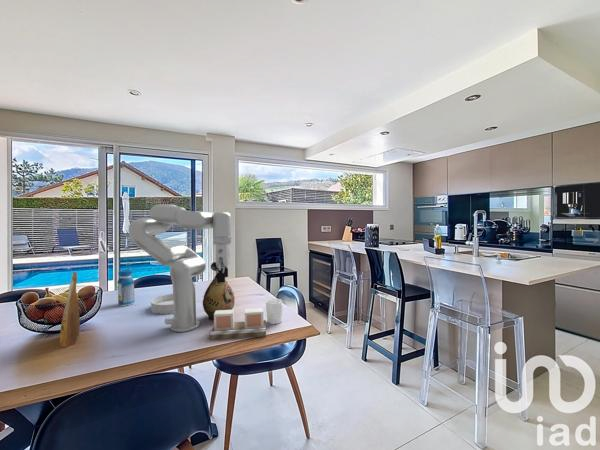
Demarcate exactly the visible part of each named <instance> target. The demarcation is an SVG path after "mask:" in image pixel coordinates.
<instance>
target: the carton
mask: <svg viewBox="0 0 600 450" xmlns="http://www.w3.org/2000/svg"><path fill="white" fill-rule="evenodd" d="M264 320H265V319H264V307H261V308H259V307H258V308H245V309H244V322H245V329H248V328H264Z"/></svg>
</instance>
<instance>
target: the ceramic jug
mask: <svg viewBox="0 0 600 450" xmlns="http://www.w3.org/2000/svg"><path fill="white" fill-rule="evenodd" d="M210 269H211V270H212V271H214V272H215V273H216V274H215V276H214V278H213V279H212V280H211V282H210V284H208V286H207V288H206V290H205V292H204V295H203V300H202V308H203V310H204V312H205V314H206V315H207V317H208V319H209V320H210V321H213V322H214V313H215V311H216V310H234V306H235V304H236V303H235V302H236V301H235V299H236V298H235V294H234V291H233V289H232V287H231V286H230V283H229V282H228V281H227V280H226V279H225V282H220V283H218V282H217V267H216V261H214V262H212V263H211V264H210Z"/></svg>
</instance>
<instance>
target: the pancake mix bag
mask: <svg viewBox="0 0 600 450" xmlns="http://www.w3.org/2000/svg"><path fill="white" fill-rule="evenodd" d="M77 283H78V273H77V272H76V271H75V270H73V272H72V276H71V279H70V283H69V286H68V292H67V293H68V294H67V298H66V301H65V305H64V310H63V315H62V319H61V324H60V331H59V332H60V334H59V344H60V347H61V348H68V347H71V346H73V345H75V344H76V342H77V340H78V337H79V335H80V325H81V324H80V322H81V321H80V320H81V319H80V306H79V302H78V295H77Z"/></svg>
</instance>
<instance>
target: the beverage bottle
mask: <svg viewBox="0 0 600 450" xmlns="http://www.w3.org/2000/svg"><path fill="white" fill-rule="evenodd" d="M132 275H133V269H130V268H129V269H128V268H127V269H126V268H125V269H121V270H120V269H119V270H118V277H119V278H118V279H117V287H116V288H117V300H118V301H117V302H118V303H117V305H118V306H120V307H126V306H127V305H128V306H131V304H132V305H133V304H134V305H135V301H136V300H135V283H134V281H135V280H134V278H133V277H132Z"/></svg>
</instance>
